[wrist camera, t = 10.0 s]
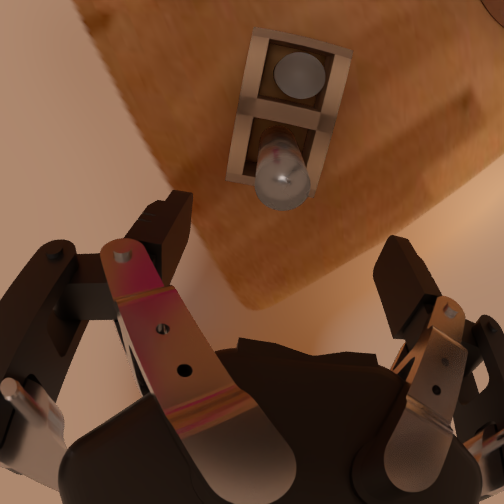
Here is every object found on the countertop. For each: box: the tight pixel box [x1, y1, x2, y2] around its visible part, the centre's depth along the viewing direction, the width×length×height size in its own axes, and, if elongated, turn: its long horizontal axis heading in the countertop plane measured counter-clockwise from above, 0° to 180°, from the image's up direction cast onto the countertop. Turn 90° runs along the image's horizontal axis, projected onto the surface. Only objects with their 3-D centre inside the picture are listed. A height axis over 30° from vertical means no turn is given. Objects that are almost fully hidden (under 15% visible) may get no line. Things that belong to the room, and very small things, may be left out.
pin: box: [255, 125, 311, 211], centre depth 20 cm, size 3×3×10 cm
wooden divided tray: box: [225, 27, 353, 198], centre depth 20 cm, size 12×7×6 cm, turn 170°
